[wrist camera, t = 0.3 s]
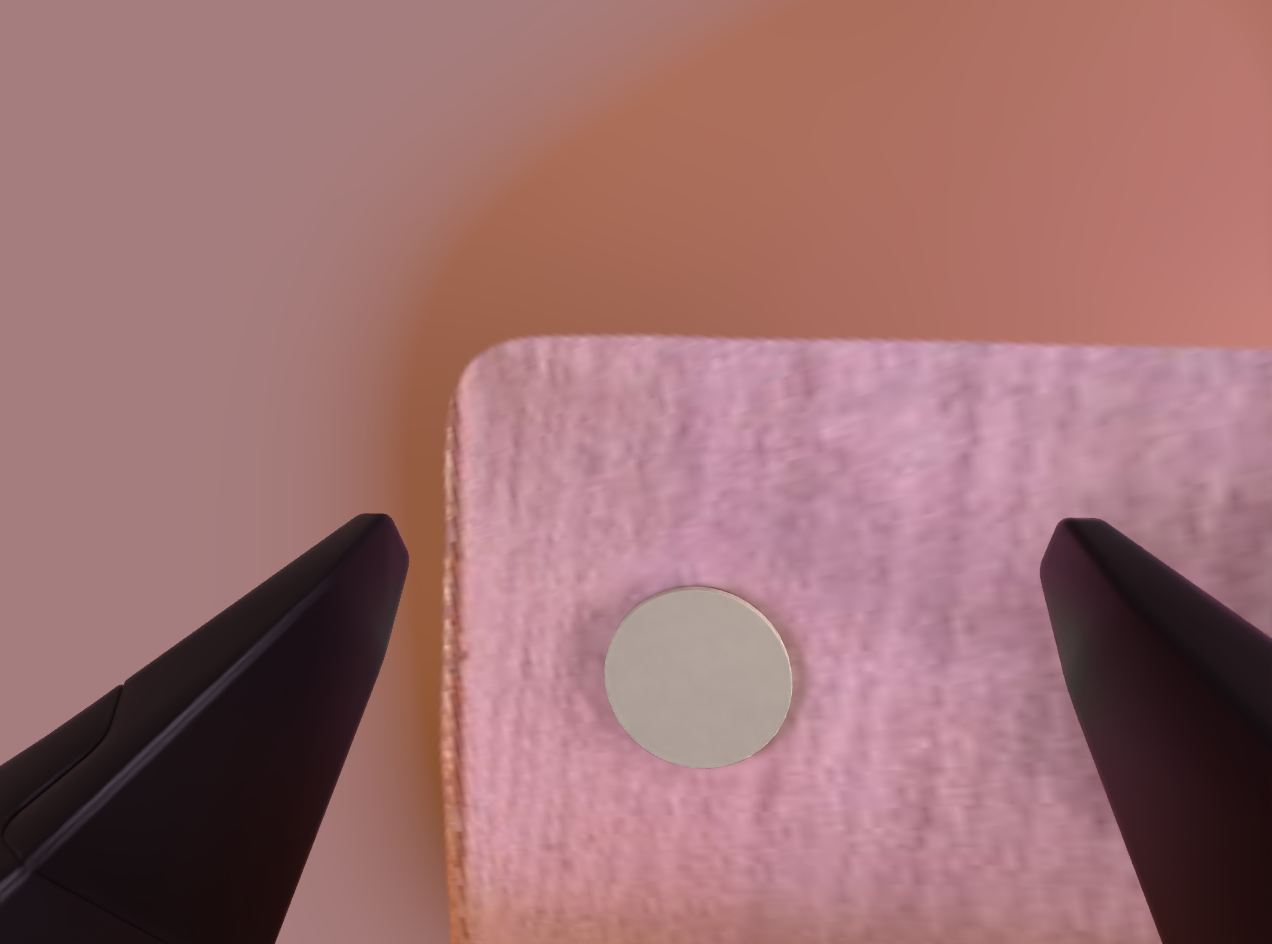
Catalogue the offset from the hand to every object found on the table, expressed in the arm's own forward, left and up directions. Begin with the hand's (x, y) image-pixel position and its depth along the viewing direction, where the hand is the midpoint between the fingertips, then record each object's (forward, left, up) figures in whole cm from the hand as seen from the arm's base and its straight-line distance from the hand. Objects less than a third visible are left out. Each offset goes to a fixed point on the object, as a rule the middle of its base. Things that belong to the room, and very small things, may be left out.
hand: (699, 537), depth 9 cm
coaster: (-7, +5, -15) cm, 17 cm away
